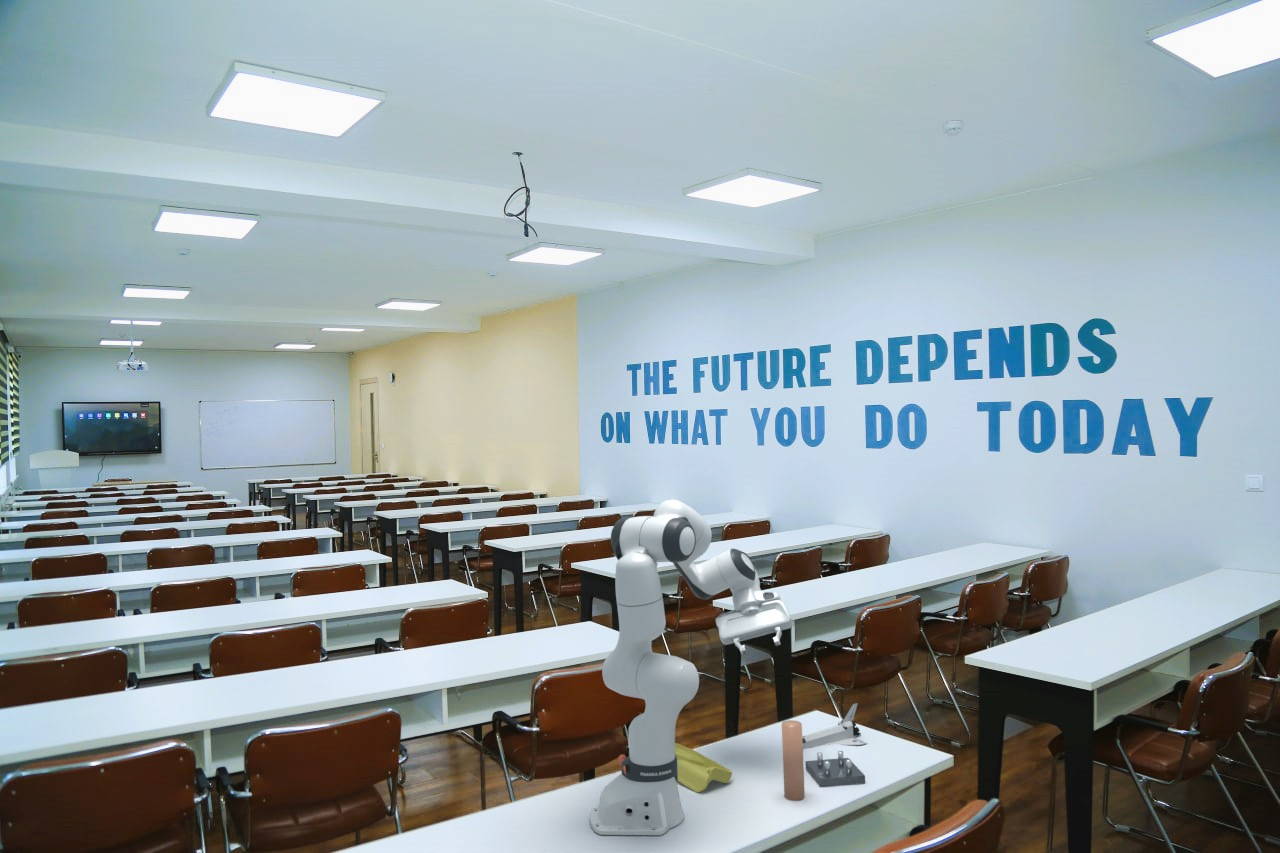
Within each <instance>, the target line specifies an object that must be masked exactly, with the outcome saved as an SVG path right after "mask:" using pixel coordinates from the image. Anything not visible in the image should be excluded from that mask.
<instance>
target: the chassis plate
mask: <svg viewBox="0 0 1280 853" xmlns="http://www.w3.org/2000/svg"><path fill="white" fill-rule="evenodd" d="M844 755H845V754H844V751H843V750H838V751H837V758H830V759H824V757H823V752H820V751H819V752H817V753H816V760H815V759H814V760H806V761H805V760H804V762H805V769H806V771H807V772H808V774H809V775H810V776H811V777H812V779H813V780H814V781H815V782H816V783H817V785H818V786H819V788H824V787H825V788H826V787H838V786H849V785H851V786H852V785H861V784H862V785H863V784H866V774H864V773H863V772H862V770H860V768H858V766H856V764H855V763H853V761H852V759H850V758H849V757H844Z"/></svg>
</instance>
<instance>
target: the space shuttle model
mask: <svg viewBox="0 0 1280 853" xmlns="http://www.w3.org/2000/svg"><path fill="white" fill-rule="evenodd" d="M857 707H858V702H855V703H852V704H851V706H850V708H849V709H848V711H847V712H846V714H845V715H844V717H843V719H842V720H840V721H838V723H837V725H836V726H832V727H829V728H824V729H822V730H818V731H815V732H812V733H808V734H805V735H802V741H803V750H805V749H811V748H815V747H820V746H827V745H829V746H830V745H840V746H846V747H847V746H851V747H861V746H865V745H868V743H867V741H865V740H864V739H861V738H860V737H859V736H860V735H861V734H862V733H861V732H860V728H859V727H857V724H856V722H855V721H854V720H855V714H856V711H857Z"/></svg>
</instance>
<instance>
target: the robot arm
mask: <svg viewBox="0 0 1280 853" xmlns="http://www.w3.org/2000/svg"><path fill="white" fill-rule="evenodd" d="M712 536H713V535H712V529H711V527H710V524H709V523H708V521H707V520H706V519H705V518H704V517H703V516H702V515H701V514H700V513H699V512H698V511H696V510H695V509H694V508H693V507H691V506H690V505H688V504H686V503H684V502H682V501H680V500H678V499H667V500H664V501H662V502H661V503H660V504H659V505H658V506H657V507H656V509H655V510H654V512H653V515H642V516H641V515H640V516H633V515H632V516H630V515H629V516H626V517H621V518H619V519H618V520H617V521H616V522H615V523H614V525H613V527H612V530H611V533H610V544H611V547H612V551H613V552H614V554H615V558H616V559H617V563H616V565H615V573H614V574H615V578H614V580H615V582H614V583H615V585H614V587H615V598H616V600H615V601H616V606H617V615H618V626H619V628H618V629H619V632H618V634H619V635H618V639H617V643H616V645H615V648H614V649H613V650H612V651H611V652H610V653H609V654H608V655H607V656H606V658H605V659H604V662H603V665H602V668H601V670H602V671H601V674H602V679H603V683H604V685H605V686H606V687H607V688H608V689H609V690H611V691H613V692H616V693H618V695H622V696H625V697H631V698H637V699H641V700H644V702H645V708H644V712H643V713H640V714H639V715H637V716H636V717H634V718H633V719H632V721H631V723H630V724H629V726H628V749H629V750H628V751H629V752H628V756H626V755H625V754H620V755H619V756H618V759H617V760H618V763H619V765H620V770H621V772H620V774H618V775H617V776H616V777H615V778H614V779H613V780H611V781H610V782H609V783H607V784H606V785H605V786H604V787H603V789H602V791H601V794H600V797H599V802H598V804H597V805H595V806H594V807H593V808H592V809H591V812H590V815H589V823H590V826H591V829H592V830H593V832H595V833H596V834H597V835H603V836H663V835H664V834H665V833H666V832H668V830H670V829H672V828H674V827H676V826H678V825H679V824H681V822H682V821H683V820H684V818H685V813H684V810H683V806H682V803H681V798H680V794H679V787H678V782H679V781H678V760H677V757H676V754H675V743H676V724H677V722H678V721H677V720H678V717H679V715H680V713H681V711H682V709H683V708H684V707H685V706H686V705H687V704H688V703H690V702H691V701H692V700H693V699H694V697H695V696H696V694H697V692H698V690H699V684H700V677H699V676H700V675H699V673H698V670H697V668H696V666H695V665H694V664H695V663H692V662H691V661H688V660H686V659H684V658H682V657H679V656H677V655H670V654H663V653H657V652H653V648H652V641H654V640H656V639H657V638H659V637H660V636H661V635H662V634H663V632H664V631H665V628H666V623H667V621H666V614H665V605H664V598H663V591H662V584H661V580H660V575H659V572H658V570H657V567H658V564H659V563H669V562H670V563H672V564H673V566H674V567H675V568H676V570H677V571H678V573H679V574H680V575H681V576H682V578H683V579H684V581H685V582H686V583H687V586H688V588H690V589H689V590H690V591H691V592H692V594H693V596H695V597H696V598H698V599H701V600H705V601H707V600H709V599H711V598H712V597H714V596H716V595H718V594H720V593H721V592H723V591H726V590H728V589H729V590H730V592H731V593H732V594H731V595H732V598H731V599H732V604H733V607H734V610H730V611H727V612H722V613H720V614H719V615H718V616H717V617H716V618H715V624H716V627H717V628H718V635H719V639H720V641H721V643H722V644H723V645H725V646H727V645H732V644H734V645H735V647H737V649H738V650H739V652H740V654H741V655H744V654H745V655H746V654H747V649H746V646H745V644H744V645H743V644H741V642H743V641H747V640H750V639H753V638H755V639H756V638H758V637H762V636H766V635H769V634H774V633H775V634H776V635H775V636H774V637H772V640H773V642H774V645H775V646H781V641H780V640H781V637H782V634H783V633H782V631H784V630H788V629H789V630H790V629H791V628H792V627H793V625H794V624H793V621H792V618H791V615H790V613H789V612H790V611H789V609H788V607H787V606H786V604H785V603H784V601H782V599H781V597H780V595H779V593H778V592H777V591H762V589H761V587H760V586H761V582H760V578H759V575H758V571H757V569H756V567H755V564H754V563H753V561H752V559H751V558H750V556H749V555H748V554H747V553H746V552H745V551H743V550H740V549H737V548H730V549H727V550H726V551H723V552H721V553H718V555H715V556H713V557H711V558H709V559H707V560H705V561H703V562H701V563H697V564H695V563H694V562H695V561H696V560H697V559H699V558H701V557H702V556H703V555H704V554H705V553H706V552H707V550H708V549H709V547H710V545H711V541H712Z"/></svg>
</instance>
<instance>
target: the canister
mask: <svg viewBox="0 0 1280 853" xmlns="http://www.w3.org/2000/svg"><path fill="white" fill-rule="evenodd" d="M802 736H803V723H802V722H801V721H798V720H792V719H791V720H788V719H787V720H784V721H782V722H781V739H782V740H781V742H782V765H783V766H782V768H783V769H782V770H783V771H782V772H783V794H784V795H783V796H784V798H785V799H786V800H789V801H793V802H794V801H796V802H799V801H802V800H804V799H805V798H806V796H805V794H806V792H805V773H804V772H805V771H804V770H805V769H804V768H805V767H804V749H803V741H802Z"/></svg>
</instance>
